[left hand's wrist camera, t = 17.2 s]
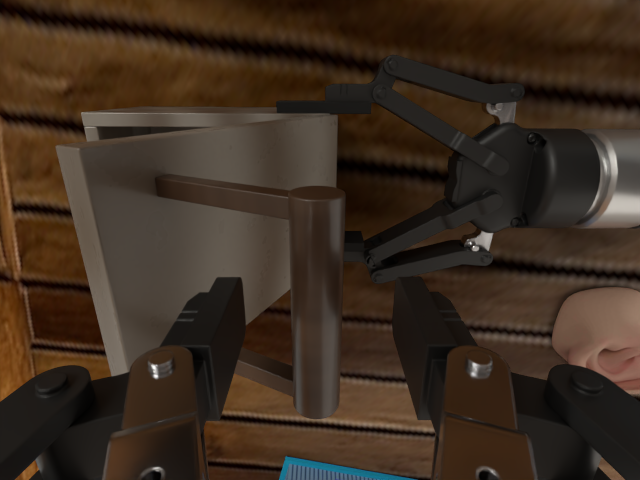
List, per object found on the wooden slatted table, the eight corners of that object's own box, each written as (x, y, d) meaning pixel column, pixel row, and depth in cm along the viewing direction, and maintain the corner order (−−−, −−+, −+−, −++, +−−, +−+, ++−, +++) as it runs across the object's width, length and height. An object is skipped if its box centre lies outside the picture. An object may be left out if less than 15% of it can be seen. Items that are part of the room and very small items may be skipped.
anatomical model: (564, 323, 38) (687, 284, 36) (542, 302, 41) (653, 266, 40) (583, 417, 42) (693, 387, 41) (562, 391, 46) (662, 362, 44)
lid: (117, 404, 15) (298, 501, 11) (54, 145, 11) (290, 172, 8) (321, 249, 29) (428, 271, 25) (322, 114, 25) (446, 119, 22)
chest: (157, 209, 38) (109, 246, 29) (141, 106, 34) (80, 112, 25) (326, 211, 38) (328, 247, 29) (327, 107, 34) (330, 113, 25)
